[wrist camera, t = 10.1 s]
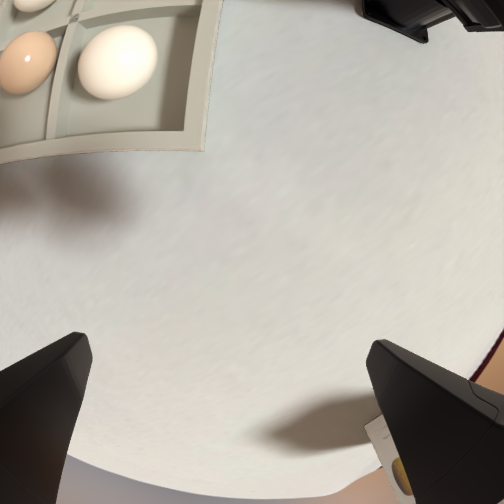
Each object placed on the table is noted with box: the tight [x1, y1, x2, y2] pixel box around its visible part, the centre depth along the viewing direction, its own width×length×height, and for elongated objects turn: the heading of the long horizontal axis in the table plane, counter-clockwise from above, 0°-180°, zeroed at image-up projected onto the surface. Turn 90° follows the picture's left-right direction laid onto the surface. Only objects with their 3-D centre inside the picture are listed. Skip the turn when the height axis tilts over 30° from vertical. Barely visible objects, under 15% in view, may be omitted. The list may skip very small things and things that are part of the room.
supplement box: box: [364, 414, 416, 504], centre depth 22 cm, size 10×9×17 cm
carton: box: [0, 0, 223, 164], centre depth 11 cm, size 20×20×3 cm
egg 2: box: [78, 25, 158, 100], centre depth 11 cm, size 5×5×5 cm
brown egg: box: [0, 30, 57, 95], centre depth 10 cm, size 5×5×5 cm
